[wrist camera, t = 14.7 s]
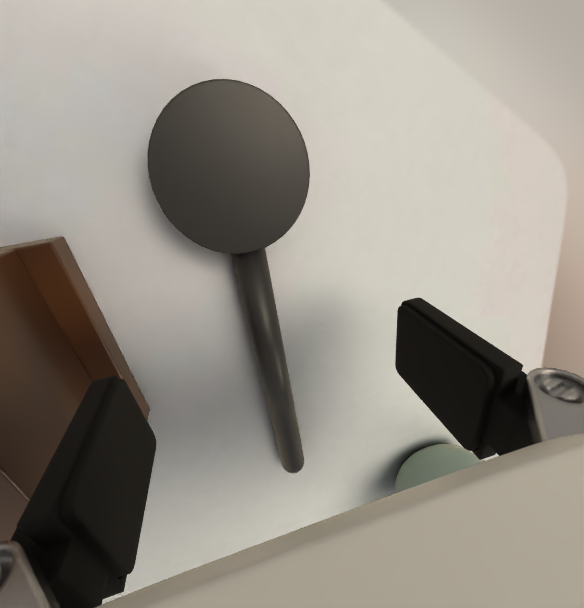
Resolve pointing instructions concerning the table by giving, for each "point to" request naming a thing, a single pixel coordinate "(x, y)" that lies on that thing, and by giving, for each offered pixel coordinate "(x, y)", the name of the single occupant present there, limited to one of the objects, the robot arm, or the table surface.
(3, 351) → the rack
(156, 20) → the table surface
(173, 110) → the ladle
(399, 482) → the cup
